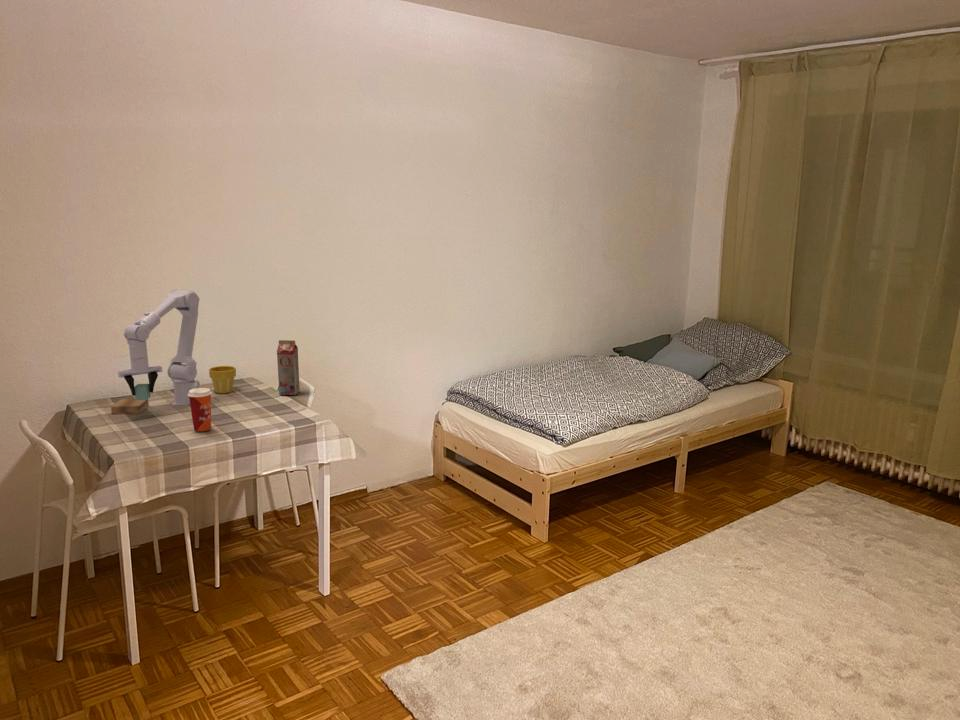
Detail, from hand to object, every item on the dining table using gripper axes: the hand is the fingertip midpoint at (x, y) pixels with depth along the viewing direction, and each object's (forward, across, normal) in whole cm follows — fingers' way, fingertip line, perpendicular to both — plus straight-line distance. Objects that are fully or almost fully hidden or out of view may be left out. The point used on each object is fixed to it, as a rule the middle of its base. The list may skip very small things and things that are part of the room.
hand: (142, 393), depth 265 cm
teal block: (+2, 0, 0) cm, 2 cm away
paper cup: (+9, -12, +28) cm, 32 cm away
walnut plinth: (+8, +3, -10) cm, 13 cm away
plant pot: (+9, -35, -16) cm, 39 cm away
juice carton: (+9, -56, +2) cm, 56 cm away
